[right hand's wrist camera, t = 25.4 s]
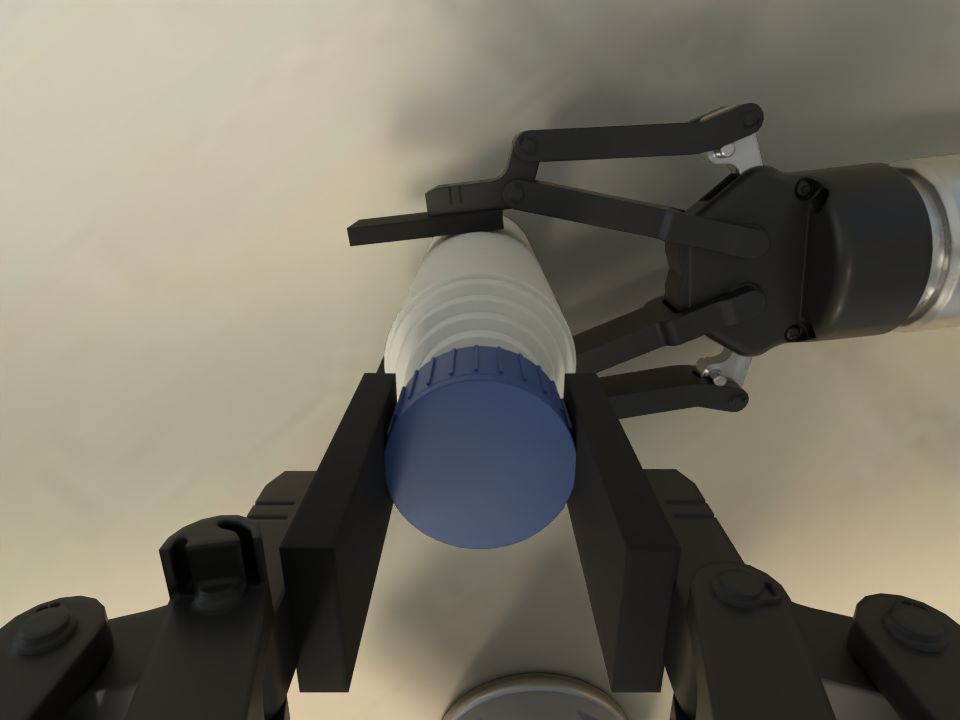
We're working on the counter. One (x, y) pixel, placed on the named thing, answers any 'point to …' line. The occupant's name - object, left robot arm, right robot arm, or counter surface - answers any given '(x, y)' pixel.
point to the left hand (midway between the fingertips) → (369, 305)
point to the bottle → (480, 306)
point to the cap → (480, 449)
